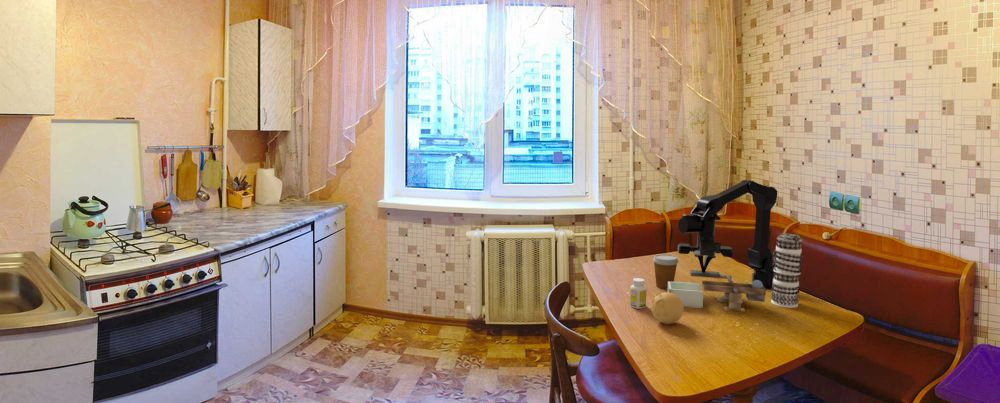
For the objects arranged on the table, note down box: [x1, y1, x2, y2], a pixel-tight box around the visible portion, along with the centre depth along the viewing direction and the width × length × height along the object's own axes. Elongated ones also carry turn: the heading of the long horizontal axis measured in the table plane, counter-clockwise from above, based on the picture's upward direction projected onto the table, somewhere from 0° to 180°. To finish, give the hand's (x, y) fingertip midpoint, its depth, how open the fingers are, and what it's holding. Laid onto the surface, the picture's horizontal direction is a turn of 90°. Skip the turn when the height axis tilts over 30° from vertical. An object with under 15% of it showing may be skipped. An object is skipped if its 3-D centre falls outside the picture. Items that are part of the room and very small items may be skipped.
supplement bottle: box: [629, 277, 647, 310], centre depth 176 cm, size 5×5×10 cm
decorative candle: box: [770, 232, 804, 309], centre depth 176 cm, size 9×9×25 cm
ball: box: [750, 280, 763, 289], centre depth 173 cm, size 4×4×4 cm
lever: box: [689, 269, 767, 303], centre depth 180 cm, size 23×19×5 cm
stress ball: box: [650, 291, 685, 325], centre depth 161 cm, size 10×10×10 cm
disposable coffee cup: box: [652, 253, 679, 290], centre depth 197 cm, size 10×10×12 cm
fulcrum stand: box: [716, 292, 745, 312], centre depth 177 cm, size 8×13×6 cm, turn 165°
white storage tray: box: [666, 281, 704, 309], centre depth 180 cm, size 11×9×6 cm
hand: (703, 272), depth 188 cm, fingers closed, pressing on lever
